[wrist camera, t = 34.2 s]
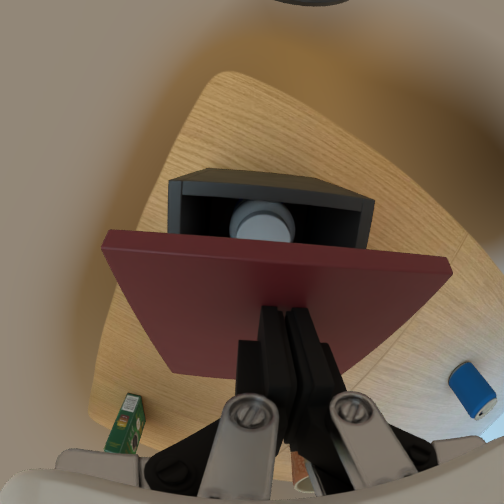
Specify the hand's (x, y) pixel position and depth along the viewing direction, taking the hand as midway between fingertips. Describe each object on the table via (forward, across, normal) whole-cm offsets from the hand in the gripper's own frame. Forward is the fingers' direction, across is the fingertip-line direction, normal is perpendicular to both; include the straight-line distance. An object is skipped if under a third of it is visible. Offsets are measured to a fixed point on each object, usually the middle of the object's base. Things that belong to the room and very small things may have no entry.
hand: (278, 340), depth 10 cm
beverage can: (+22, -44, +26) cm, 56 cm away
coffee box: (+22, +18, +34) cm, 44 cm away
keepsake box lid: (+3, 0, +2) cm, 3 cm away
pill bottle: (+21, 0, -1) cm, 21 cm away
